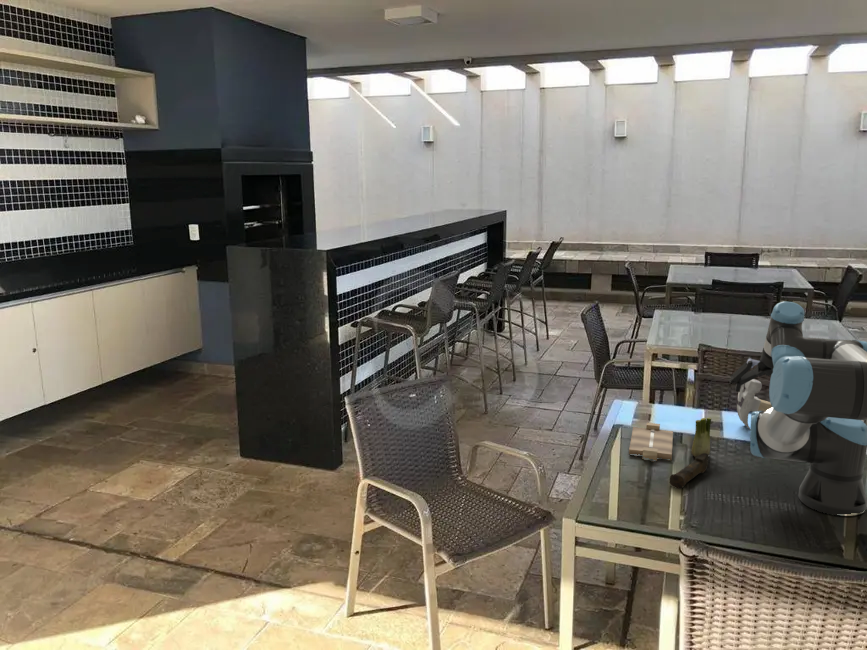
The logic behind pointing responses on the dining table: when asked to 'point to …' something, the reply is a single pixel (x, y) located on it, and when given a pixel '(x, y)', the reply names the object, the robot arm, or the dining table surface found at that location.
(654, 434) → the tan wooden board
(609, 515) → the dining table surface
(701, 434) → the fennel bulb
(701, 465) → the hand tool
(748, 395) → the hammer
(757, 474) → the dining table surface
